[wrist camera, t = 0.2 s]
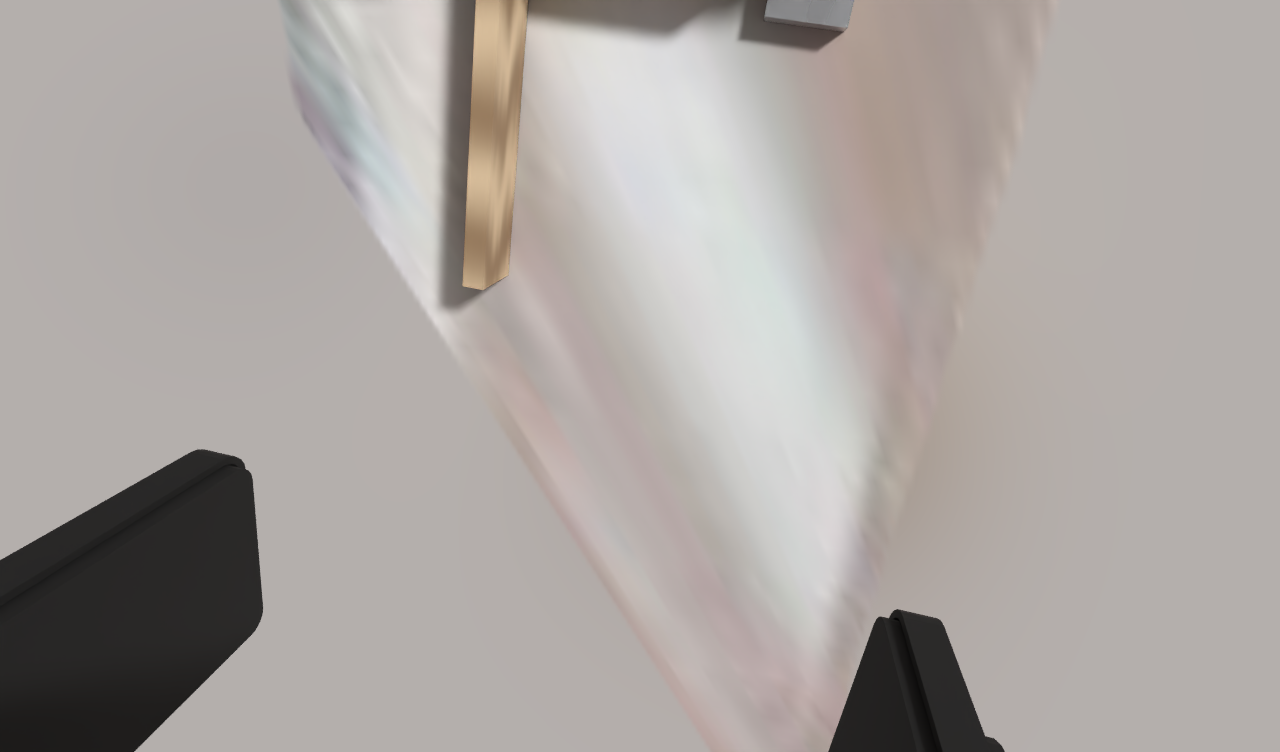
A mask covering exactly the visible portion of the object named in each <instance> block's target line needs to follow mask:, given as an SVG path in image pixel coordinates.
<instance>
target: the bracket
mask: <svg viewBox="0 0 1280 752" xmlns="http://www.w3.org/2000/svg"><path fill="white" fill-rule="evenodd" d="M853 3H854V0H767V5H766V11H765V16H764V21H768V22H775V23H783V24H790V25H797V26H804V27H811V28H818V29H825V30H832V31H839V32H844V31H845V30H846V29H847V28H848V24H849V20H850V15H851V11H852V7H853Z"/></svg>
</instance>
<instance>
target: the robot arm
mask: <svg viewBox="0 0 1280 752" xmlns="http://www.w3.org/2000/svg"><path fill="white" fill-rule="evenodd" d="M255 516H256V515H255V504H254V492H253V479H252V475H251V473H250V472H249V471H248V470H246V469H245V465H244V463H243V461H242V460H241V459H239V458H237V457H235V456H230V455H225V454H222V453H217V452H213V451H208V450H195V451H193V452H190V453H188V454H187V455H185V456H183V457H182V458H180V459H178V460H176V461H174V462H173V463H171V464H169V465H167V466H166V467H164V468H162V469H160V470H159V471H157V472H155V473H153V474H151V475H150V476H148V477H146V478H144V479H143V480H141V481H139V482H137V483H136V484H134V485H132V486H130V487H129V488H127V489H125V490H123V491H122V492H120V493H118V494H116V495H115V496H113V497H111V498H109V499H107V500H106V501H104V502H102V503H100V504H99V505H97V506H95V507H93V508H91V509H90V510H88V511H86V512H85V513H83V514H81V515H79V516H77V517H76V518H74V519H72V520H70V521H69V522H67V523H65V524H63V525H62V526H60V527H58V528H56V529H55V530H53V531H51V532H49V533H47V534H46V535H44V536H42V537H40V538H39V539H37V540H35V541H33V542H32V543H30V544H28V545H26V546H25V547H23V548H21V549H19V550H17V551H16V552H14V553H12V554H10V555H9V556H7V557H5V558H3V559H2V560H0V752H134V751H135V750H136V749H137V748H138V747H139V746H140V745H141V744H142V743H143V742H144V741H145V740H146V739H147V738H148V737H149V736H150V735H151V734H152V733H153V732H154V731H155V730H156V729H157V728H158V727H159V726H160V725H161V724H162V723H163V722H164V721H165V720H166V719H167V718H168V717H169V716H170V715H171V714H172V713H173V712H174V711H175V710H176V709H177V708H178V707H179V706H181V704H182V703H183V702H184V701H186V700H187V698H189V697H190V696H191V695H192V694H193V693H194V692H195V691H196V689H198V688H199V687H200V686H201V684H203V683H204V682H205V681H206V680H207V679H208V678H209V677H210V676H211V675H212V674H213V673H214V672H215V671H216V670H217V669H218V668H219V667H220V666H221V665H222V664H223V663H224V662H225V661H226V660H227V659H228V658H229V657H230V656H231V655H232V654H233V653H234V652H235V651H236V650H237V649H238V648H239V647H240V646H241V645H242V644H243V643H244V642H245V641H246V640H247V639H248V638H249V637H250V636H251V635H252V633H253V632H254V631H255V630H256V628H257V626H258V624H259V622H260V620H261V617H262V613H263V602H262V590H261V577H260V565H259V552H258V540H257V528H256V517H255ZM828 752H1004V749H1003V748H1002V746H1001V745H1000V744H999V743H998V742H997V741H996V740H995V739H994V738H990V737H985V735H984V732H983V730H982V727H981V724H980V721H979V719H978V716H977V714H976V711H975V708H974V705H973V703H972V700H971V697H970V695H969V692H968V689H967V686H966V684H965V681H964V679H963V676H962V673H961V670H960V668H959V665H958V662H957V660H956V657H955V654H954V652H953V649H952V646H951V644H950V641H949V638H948V636H947V633H946V630H945V627H944V625H943V623H942V622H941V621H940V620H939V619H937V618H933V617H928V616H924V615H920V614H916V613H911V612H907V611H903V610H898V609H897V610H894V611H893V613H892V614H891V615H890V617H889V618H885V617H878V618H877V619H876V621H875V623H874V626H873V628H872V631H871V634H870V637H869V640H868V642H867V646H866V648H865V651H864V654H863V656H862V659H861V662H860V665H859V668H858V670H857V673H856V676H855V679H854V682H853V684H852V687H851V690H850V693H849V696H848V698H847V701H846V704H845V707H844V709H843V712H842V715H841V718H840V721H839V723H838V726H837V729H836V732H835V735H834V737H833V740H832V743H831V746H830V749H829V751H828Z"/></svg>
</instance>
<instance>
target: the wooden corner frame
mask: <svg viewBox="0 0 1280 752" xmlns="http://www.w3.org/2000/svg"><path fill="white" fill-rule="evenodd" d="M527 11H528V0H476V7H475V29H474V50H473V72H472V93H471V115H470V136H469V158H468V179H467V201H466V222H465V244H464V265H463V286H465V287H470V288H475V289H480V290H484V289H486V288H487V287H489V286H491V285H492V284H494V283H496V282H498V281H499V280H501V279H503V278H504V277H506V276H508V272H509V258H510V244H511V231H512V217H513V203H514V189H515V176H516V162H517V148H518V134H519V121H520V107H521V93H522V79H523V66H524V52H525V38H526V24H527Z"/></svg>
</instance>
